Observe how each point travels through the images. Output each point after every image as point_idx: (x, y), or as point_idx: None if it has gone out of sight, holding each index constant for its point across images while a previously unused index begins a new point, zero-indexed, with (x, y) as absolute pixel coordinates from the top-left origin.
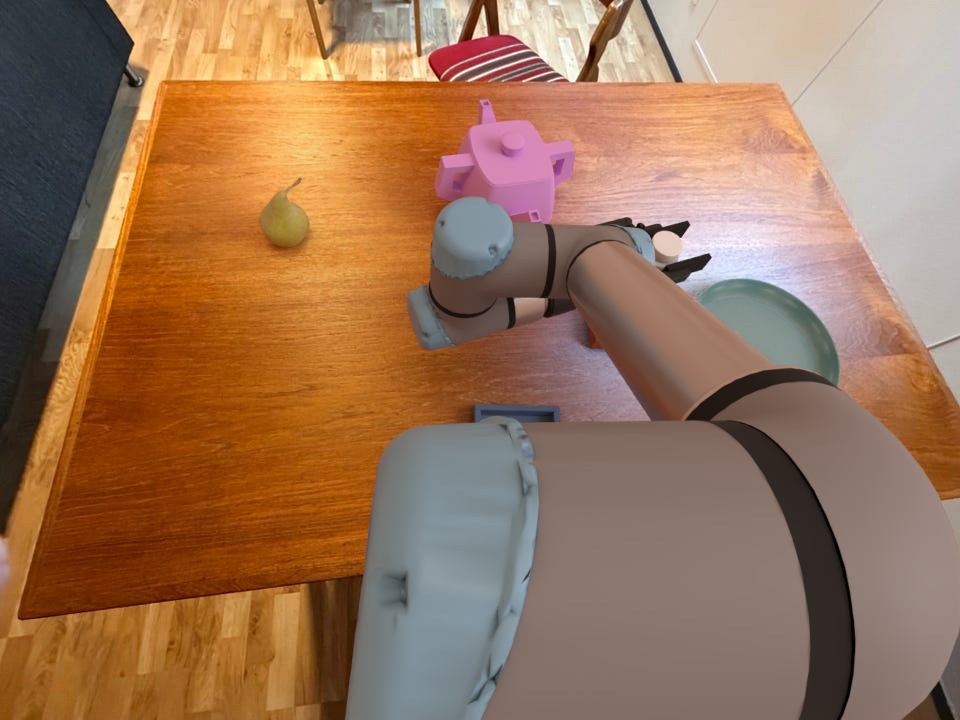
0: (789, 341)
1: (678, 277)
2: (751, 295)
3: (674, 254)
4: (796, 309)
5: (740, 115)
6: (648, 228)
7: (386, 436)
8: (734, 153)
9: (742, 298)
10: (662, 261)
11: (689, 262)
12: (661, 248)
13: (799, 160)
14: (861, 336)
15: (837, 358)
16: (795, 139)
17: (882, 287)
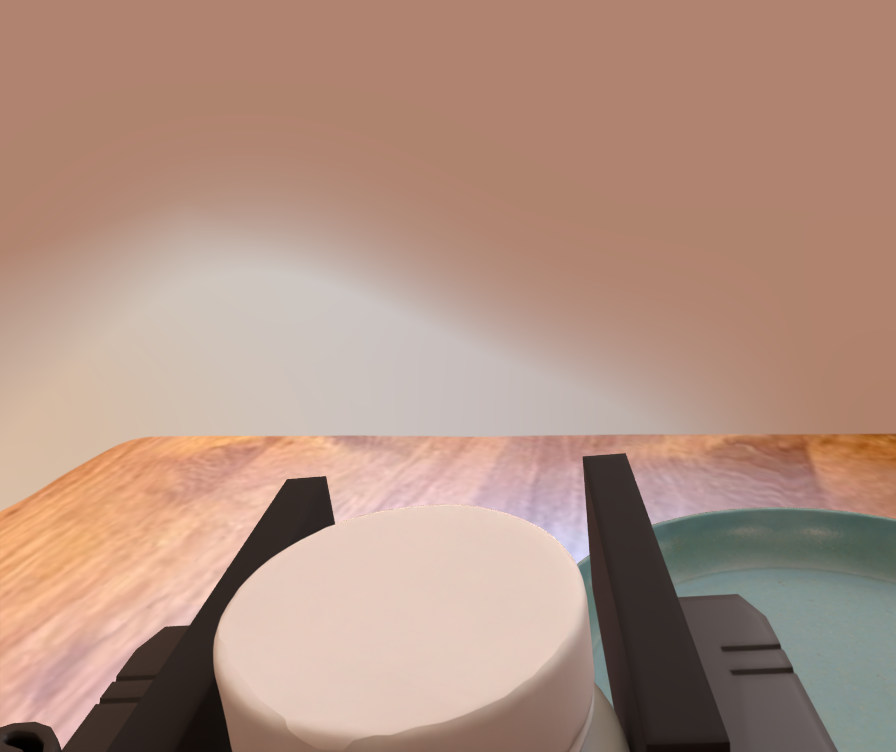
0: (782, 603)
1: (801, 707)
2: (594, 626)
3: (569, 585)
4: (675, 547)
5: (113, 484)
6: (108, 730)
7: None
8: (173, 519)
9: (595, 653)
10: None
11: (645, 557)
12: (429, 672)
13: (287, 447)
14: (757, 487)
15: (869, 517)
16: (244, 440)
17: (628, 435)
